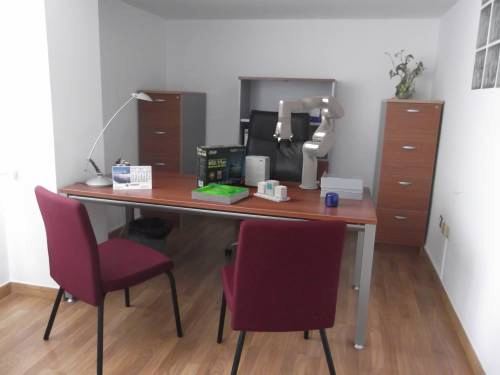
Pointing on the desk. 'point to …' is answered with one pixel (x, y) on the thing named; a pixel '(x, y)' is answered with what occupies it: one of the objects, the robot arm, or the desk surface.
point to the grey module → (271, 187)
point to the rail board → (278, 196)
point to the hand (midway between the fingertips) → (282, 148)
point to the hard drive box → (256, 170)
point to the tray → (220, 193)
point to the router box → (220, 165)
